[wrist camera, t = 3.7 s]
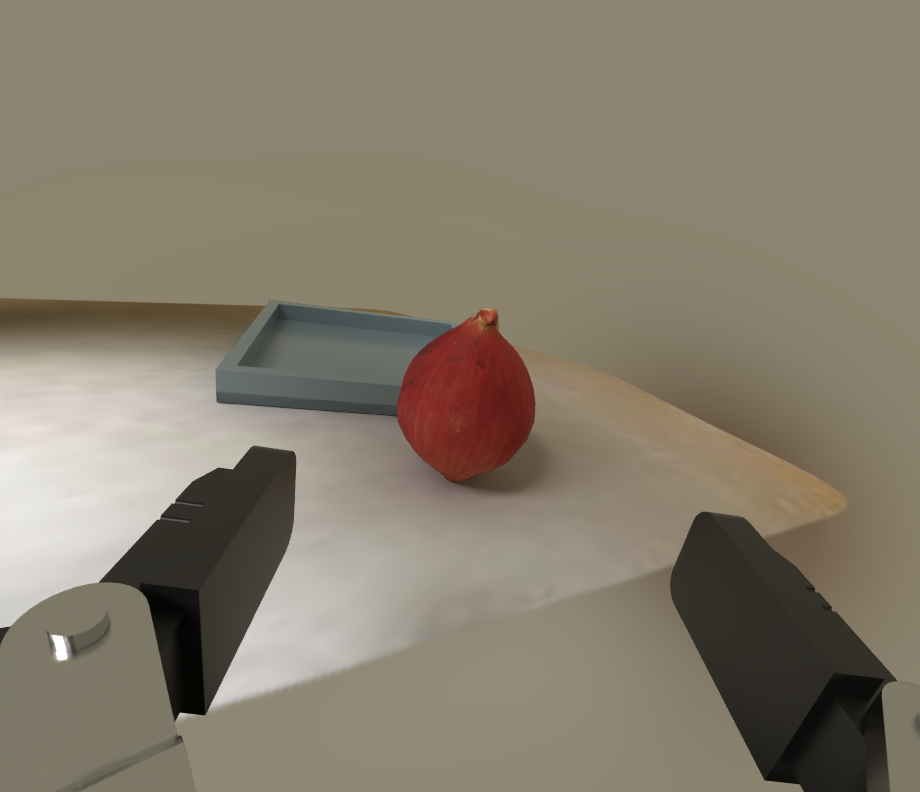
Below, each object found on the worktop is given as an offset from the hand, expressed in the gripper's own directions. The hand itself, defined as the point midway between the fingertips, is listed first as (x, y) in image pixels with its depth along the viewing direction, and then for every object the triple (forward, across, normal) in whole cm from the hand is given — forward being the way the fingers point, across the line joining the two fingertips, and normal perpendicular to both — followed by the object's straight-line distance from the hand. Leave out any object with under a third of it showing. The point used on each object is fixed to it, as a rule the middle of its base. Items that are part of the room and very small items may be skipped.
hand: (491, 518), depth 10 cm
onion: (+11, 0, +6) cm, 13 cm away
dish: (+24, +6, +6) cm, 25 cm away
